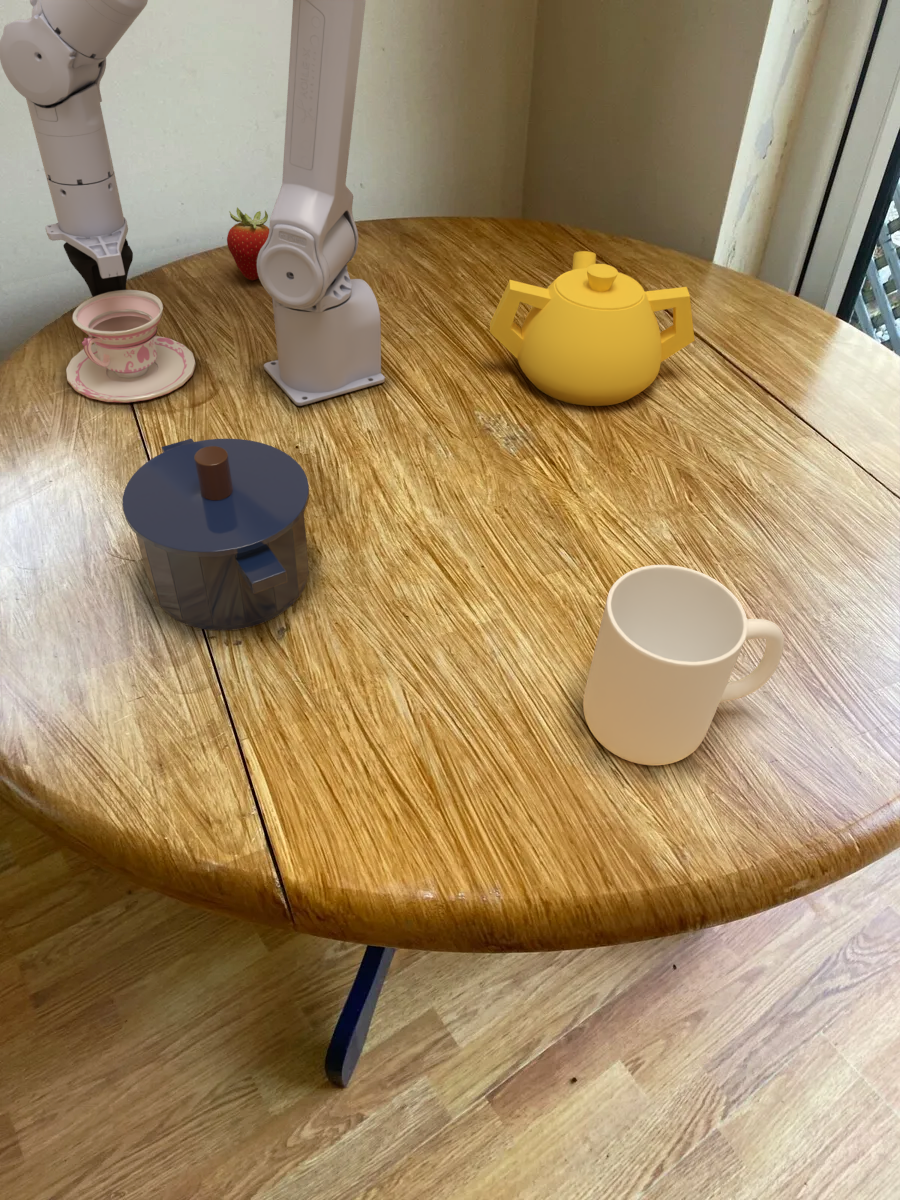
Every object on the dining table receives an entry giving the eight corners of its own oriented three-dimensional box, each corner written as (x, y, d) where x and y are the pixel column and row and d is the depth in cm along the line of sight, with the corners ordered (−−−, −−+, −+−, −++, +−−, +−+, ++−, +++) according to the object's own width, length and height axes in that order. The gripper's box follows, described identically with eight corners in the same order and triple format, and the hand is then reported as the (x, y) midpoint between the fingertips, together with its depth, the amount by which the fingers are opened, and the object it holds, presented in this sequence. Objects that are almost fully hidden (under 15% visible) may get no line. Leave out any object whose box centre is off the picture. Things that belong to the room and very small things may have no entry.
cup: (569, 673, 63) (593, 566, 56) (734, 664, 64) (778, 559, 57) (596, 774, 57) (626, 668, 50) (777, 761, 58) (831, 657, 51)
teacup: (124, 328, 93) (111, 271, 89) (220, 359, 90) (212, 300, 86) (39, 383, 85) (20, 322, 81) (142, 418, 82) (128, 357, 78)
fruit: (284, 272, 104) (278, 202, 98) (267, 293, 100) (260, 221, 95) (242, 266, 105) (234, 195, 99) (224, 286, 101) (214, 214, 95)
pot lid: (265, 433, 70) (260, 386, 67) (340, 526, 62) (338, 478, 59) (101, 481, 65) (88, 433, 62) (162, 588, 57) (150, 539, 54)
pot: (257, 490, 76) (247, 414, 70) (352, 618, 66) (348, 540, 60) (119, 534, 71) (97, 456, 66) (199, 679, 61) (180, 600, 56)
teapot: (660, 322, 100) (683, 222, 92) (697, 416, 87) (728, 308, 79) (479, 317, 99) (487, 215, 91) (490, 411, 86) (500, 301, 78)
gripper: (19, 150, 83) (57, 291, 92) (47, 210, 74) (86, 359, 83) (98, 142, 85) (128, 280, 95) (134, 199, 76) (163, 345, 86)
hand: (113, 316), depth 89 cm, fingers closed
